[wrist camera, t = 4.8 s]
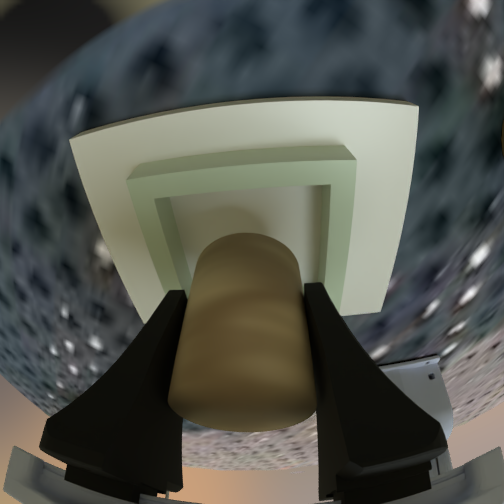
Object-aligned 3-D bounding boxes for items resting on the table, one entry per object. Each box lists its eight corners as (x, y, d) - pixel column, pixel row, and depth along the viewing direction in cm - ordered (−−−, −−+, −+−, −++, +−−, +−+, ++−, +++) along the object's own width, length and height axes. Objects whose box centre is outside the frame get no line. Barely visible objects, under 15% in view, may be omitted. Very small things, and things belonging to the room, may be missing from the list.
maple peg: (302, 230, 11) (327, 374, 6) (297, 308, 14) (308, 429, 9) (186, 235, 11) (146, 374, 7) (204, 311, 14) (187, 429, 9)
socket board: (407, 101, 11) (439, 115, 9) (375, 298, 19) (387, 332, 17) (81, 132, 12) (48, 153, 10) (147, 310, 20) (137, 344, 18)
